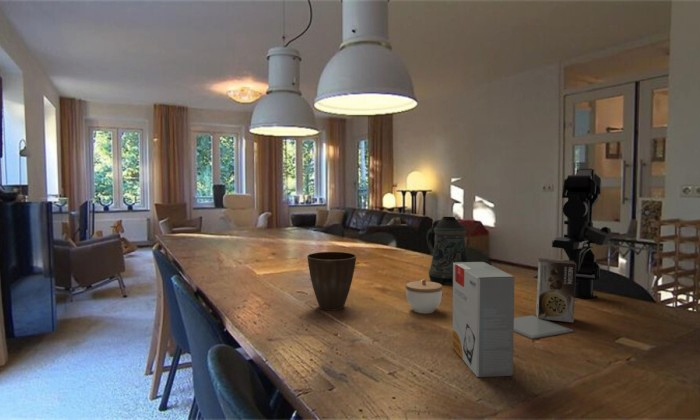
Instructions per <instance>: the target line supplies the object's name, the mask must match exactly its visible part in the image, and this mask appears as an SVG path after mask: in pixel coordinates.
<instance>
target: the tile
mask: <svg viewBox="0 0 700 420" xmlns="http://www.w3.org/2000/svg"><path fill="white" fill-rule="evenodd" d="M574 332H575V330H574V329H571V328H568V327H566V326H563V325H561V324H557V323H554V322H553V321H552V322H551V321H550V320H546V319H538V318H537V315H532V314H530V315H524V316H517V317H514V333H516V334H517V335H521V336H523V337H525V338H528V339H530V340H535V339H540V338H546V337H553V336H557V335H563V334H569V333H574Z"/></svg>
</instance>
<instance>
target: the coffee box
mask: <svg viewBox="0 0 700 420" xmlns="http://www.w3.org/2000/svg"><path fill="white" fill-rule="evenodd" d="M537 265H538V267H537V282H536V283H537V287H536V288H537V289H536V306H535V309H536V310H535V314H536V315H535V316H536V317H537V318H538V319H544V320H547V321H556V322H565V323H574V321H575V319H574V317H575V299H576V297H575V279H576V263H575V262H574V261H571V260H569V259H556V258H555V259H554V258H541V257H540V258H538V264H537Z"/></svg>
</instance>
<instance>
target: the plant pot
mask: <svg viewBox="0 0 700 420" xmlns="http://www.w3.org/2000/svg"><path fill="white" fill-rule="evenodd" d="M306 258H307V262H308V263H307V264H308V270H309V275H310V282H311V283H312V284H311V285H312V288H313V292H314V295H315V299H316V301H317V304H318V307H319V308H320V310H321V309H322V310H326V311H337V310H341V309H344V307H345V304H346V301H347V299H348V295H349V293H350V289H351V286H352V282H353V279H354V272H355V268H356V261H357V255H356V254H354V253H352V252H344V251H343V252H342V251H322V252H319V251H318V252H314V253H310V254H308V255H307V257H306Z"/></svg>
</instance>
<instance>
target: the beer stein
mask: <svg viewBox="0 0 700 420" xmlns="http://www.w3.org/2000/svg"><path fill="white" fill-rule="evenodd" d="M466 233H467V228H466V227H465V226H464V224H462V223H461V222H459V221H458V220H457V218H456V216H442V218H441V219H437V220H435V221H433V223H432V226H431V227H429V229H428V230H427V232H426V242H427V243H426V244H427V246H428V249H429V252H430V253H431V254H432V259H431V264H430V268H429V270H428V278H429V282H435V283H439V284H441V285H442V286H453V263H455V262H469V259H468V253H467V246H466V239H465V238H466V237H465V236H466Z"/></svg>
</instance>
